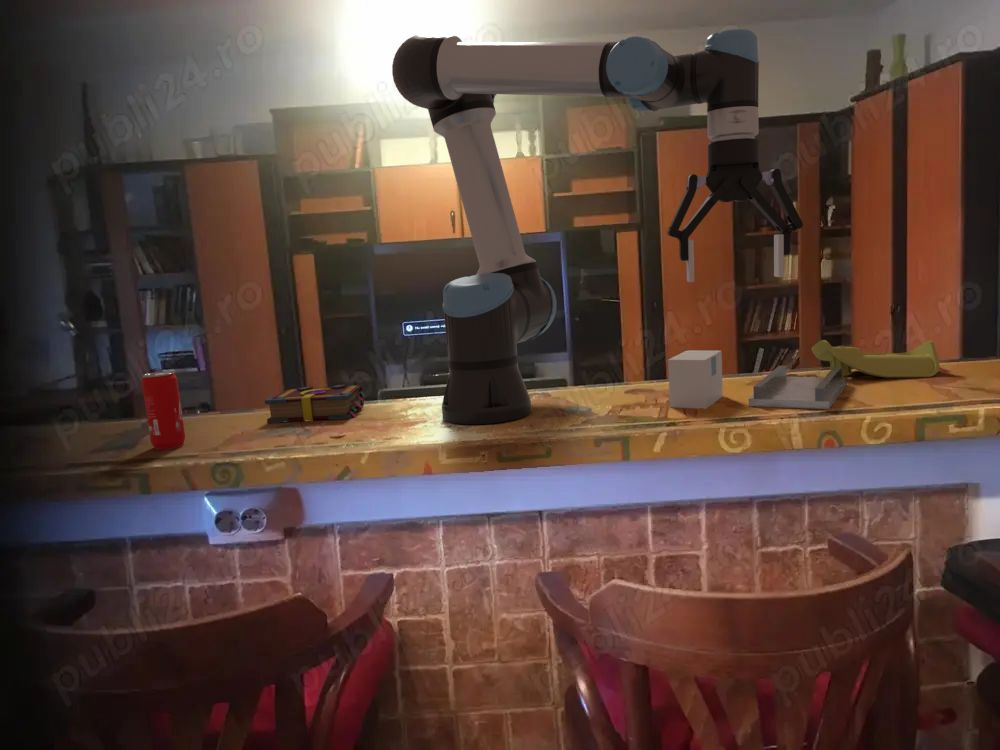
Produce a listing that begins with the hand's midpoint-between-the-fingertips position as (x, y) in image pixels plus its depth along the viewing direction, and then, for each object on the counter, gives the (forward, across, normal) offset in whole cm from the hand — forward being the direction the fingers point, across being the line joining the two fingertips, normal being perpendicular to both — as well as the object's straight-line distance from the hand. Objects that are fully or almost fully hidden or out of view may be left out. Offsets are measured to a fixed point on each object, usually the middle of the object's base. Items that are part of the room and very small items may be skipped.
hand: (734, 279), depth 124 cm
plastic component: (+20, +29, +20) cm, 41 cm away
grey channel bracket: (+20, +12, +5) cm, 24 cm away
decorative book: (+22, -72, +11) cm, 76 cm away
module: (+20, -6, +4) cm, 22 cm away
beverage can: (+22, -92, -8) cm, 94 cm away
